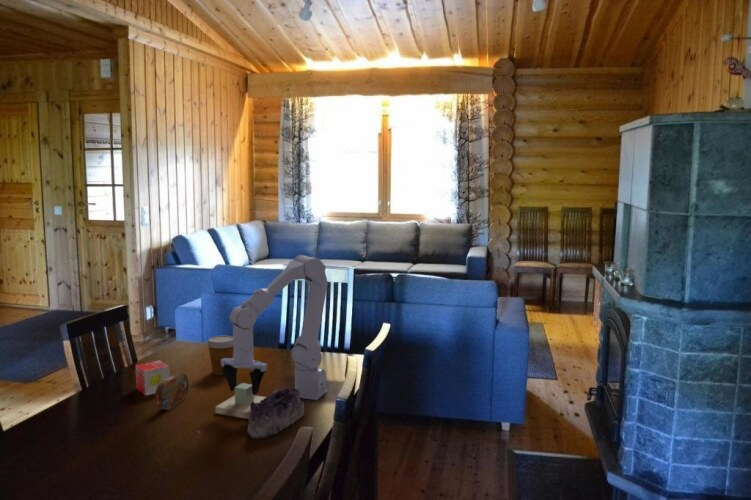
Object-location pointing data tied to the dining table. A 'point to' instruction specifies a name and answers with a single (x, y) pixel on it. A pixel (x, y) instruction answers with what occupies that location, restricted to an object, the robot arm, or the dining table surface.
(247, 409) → the slab
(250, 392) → the block
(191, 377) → the dining table surface
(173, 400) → the tin
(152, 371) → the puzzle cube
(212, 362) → the disposable coffee cup
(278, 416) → the geode
